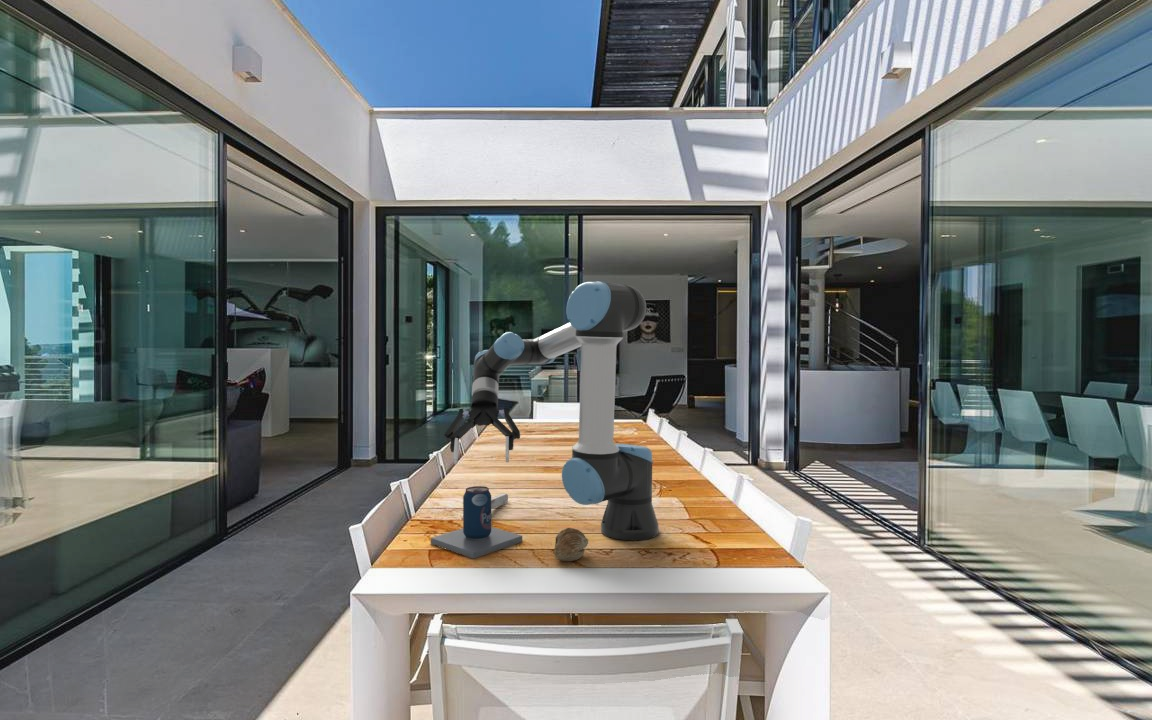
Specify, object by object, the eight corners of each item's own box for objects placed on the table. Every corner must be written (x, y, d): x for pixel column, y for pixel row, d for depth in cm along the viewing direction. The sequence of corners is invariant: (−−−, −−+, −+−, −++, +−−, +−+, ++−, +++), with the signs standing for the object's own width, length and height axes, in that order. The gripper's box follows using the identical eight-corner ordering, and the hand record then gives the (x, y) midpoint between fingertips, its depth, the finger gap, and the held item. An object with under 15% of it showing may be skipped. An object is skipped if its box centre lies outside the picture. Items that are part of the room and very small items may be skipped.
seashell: (590, 555, 146) (557, 550, 148) (593, 526, 146) (560, 521, 148) (582, 568, 137) (548, 562, 139) (585, 536, 137) (551, 531, 139)
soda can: (488, 541, 150) (488, 492, 150) (460, 540, 150) (460, 492, 150) (493, 532, 157) (493, 485, 157) (466, 532, 157) (466, 485, 157)
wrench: (507, 511, 192) (473, 528, 164) (502, 510, 193) (466, 528, 164) (508, 485, 193) (474, 498, 164) (503, 485, 193) (468, 497, 165)
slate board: (522, 541, 154) (522, 535, 154) (473, 558, 142) (473, 552, 142) (479, 528, 165) (479, 523, 165) (430, 543, 152) (430, 537, 152)
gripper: (529, 403, 179) (529, 466, 165) (442, 406, 178) (435, 469, 164) (528, 387, 174) (528, 450, 159) (438, 390, 172) (431, 454, 158)
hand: (481, 460), depth 162 cm, fingers open, 13 cm apart
